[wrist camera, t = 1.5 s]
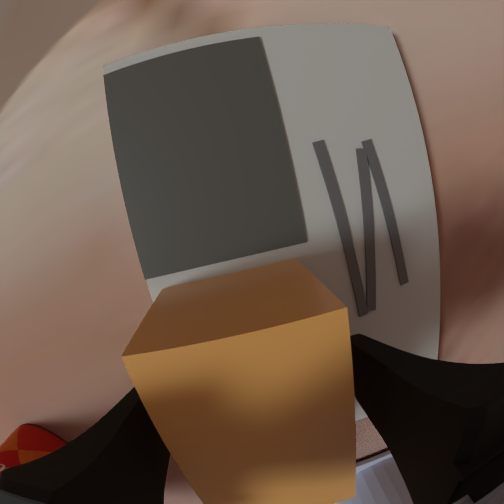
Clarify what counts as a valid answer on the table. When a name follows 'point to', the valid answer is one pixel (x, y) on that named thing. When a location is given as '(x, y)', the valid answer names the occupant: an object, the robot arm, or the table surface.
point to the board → (283, 169)
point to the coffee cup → (28, 445)
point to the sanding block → (252, 386)
